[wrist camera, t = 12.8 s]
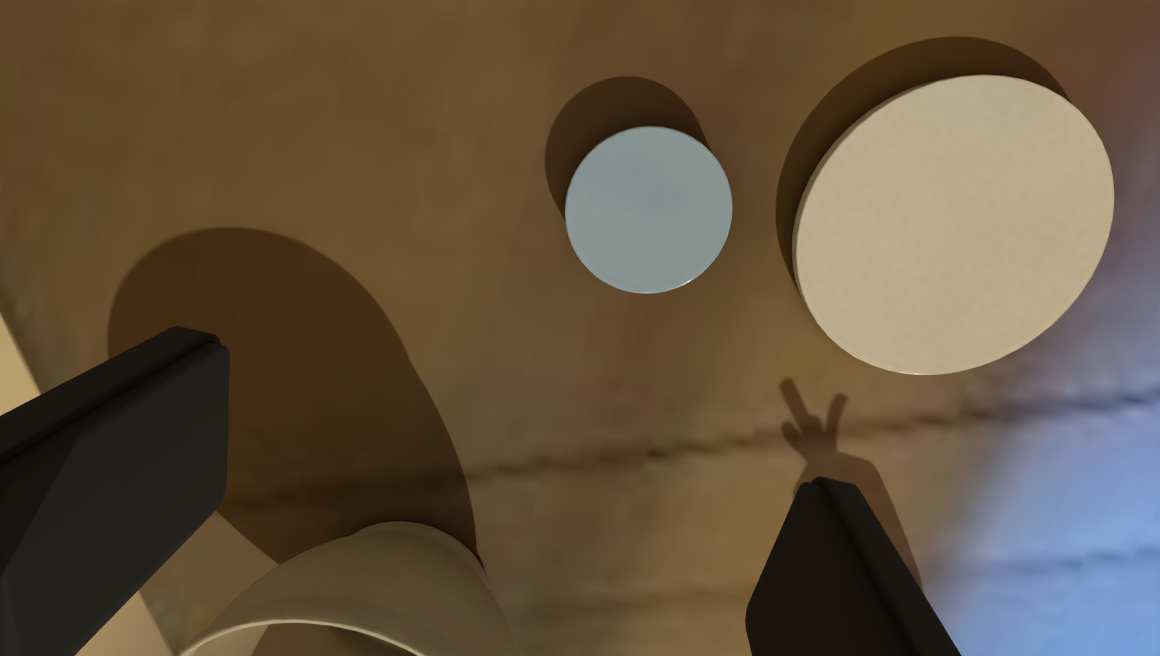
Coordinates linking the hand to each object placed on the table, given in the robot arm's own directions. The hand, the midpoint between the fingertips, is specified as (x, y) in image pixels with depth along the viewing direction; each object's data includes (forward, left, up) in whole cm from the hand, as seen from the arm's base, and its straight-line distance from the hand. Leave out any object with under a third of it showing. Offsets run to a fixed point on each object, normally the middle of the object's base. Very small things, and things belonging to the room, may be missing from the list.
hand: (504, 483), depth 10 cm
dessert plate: (-4, +16, -20) cm, 26 cm away
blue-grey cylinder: (-2, +3, -20) cm, 20 cm away
